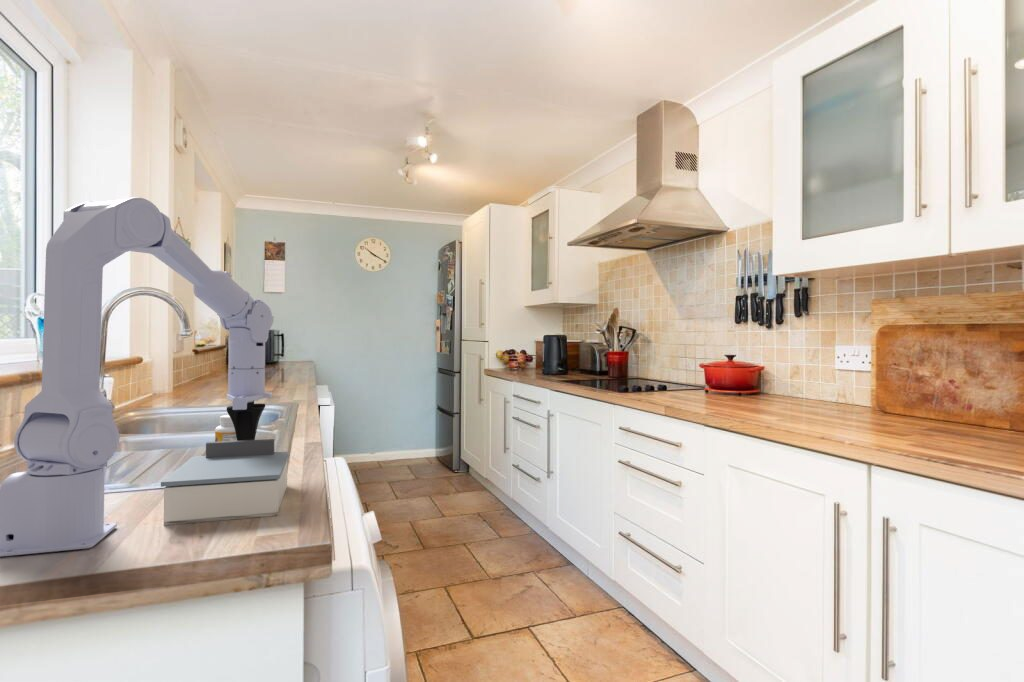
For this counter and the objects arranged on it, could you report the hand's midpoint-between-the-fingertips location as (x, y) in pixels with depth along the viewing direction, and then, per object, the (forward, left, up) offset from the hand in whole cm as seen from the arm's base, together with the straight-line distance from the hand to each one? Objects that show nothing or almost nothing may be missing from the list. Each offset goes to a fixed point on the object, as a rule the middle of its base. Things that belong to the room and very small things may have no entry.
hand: (246, 446), depth 92 cm
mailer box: (0, -12, -6) cm, 14 cm away
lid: (0, -12, -1) cm, 12 cm away
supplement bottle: (-5, +13, -7) cm, 15 cm away
